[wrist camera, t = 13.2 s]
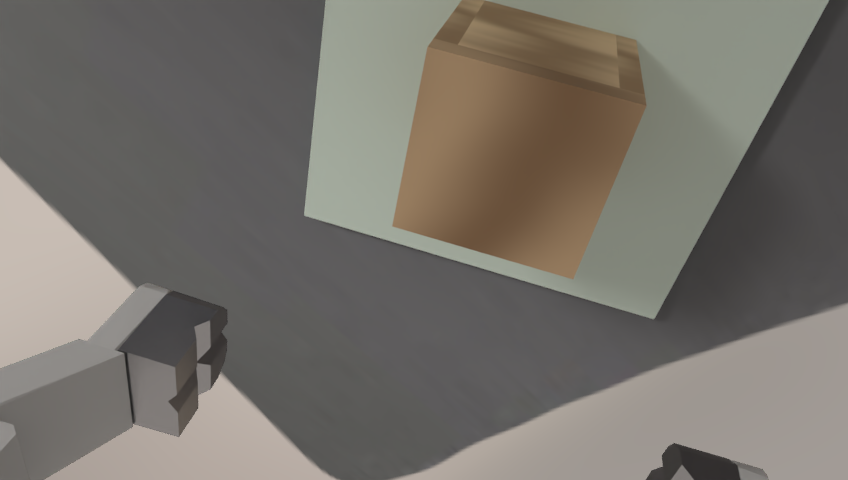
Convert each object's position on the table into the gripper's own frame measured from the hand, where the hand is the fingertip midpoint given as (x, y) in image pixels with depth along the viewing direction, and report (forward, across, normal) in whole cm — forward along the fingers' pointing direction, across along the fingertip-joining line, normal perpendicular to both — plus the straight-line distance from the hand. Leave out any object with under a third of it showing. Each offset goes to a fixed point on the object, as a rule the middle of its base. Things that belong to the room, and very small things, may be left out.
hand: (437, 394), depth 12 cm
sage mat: (+16, 0, 0) cm, 16 cm away
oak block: (+15, 0, 0) cm, 15 cm away
